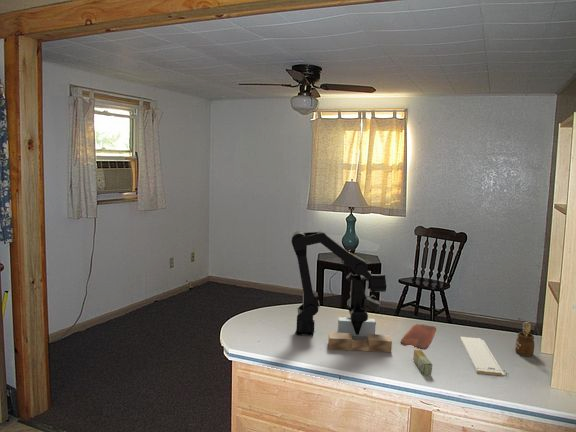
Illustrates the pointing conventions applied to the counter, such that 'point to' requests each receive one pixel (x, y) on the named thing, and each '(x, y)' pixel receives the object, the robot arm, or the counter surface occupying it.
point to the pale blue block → (347, 327)
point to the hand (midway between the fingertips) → (356, 330)
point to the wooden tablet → (419, 336)
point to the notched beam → (360, 342)
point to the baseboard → (481, 356)
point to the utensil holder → (525, 343)
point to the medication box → (422, 362)
